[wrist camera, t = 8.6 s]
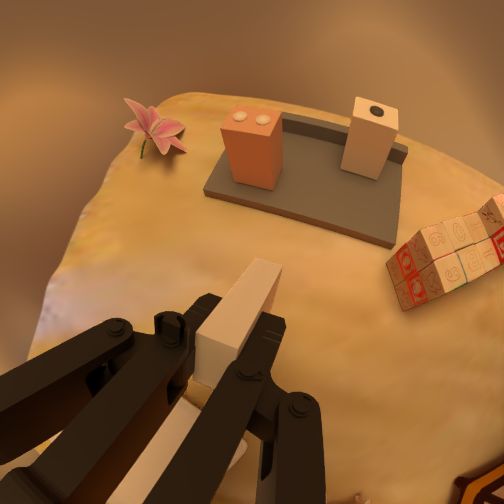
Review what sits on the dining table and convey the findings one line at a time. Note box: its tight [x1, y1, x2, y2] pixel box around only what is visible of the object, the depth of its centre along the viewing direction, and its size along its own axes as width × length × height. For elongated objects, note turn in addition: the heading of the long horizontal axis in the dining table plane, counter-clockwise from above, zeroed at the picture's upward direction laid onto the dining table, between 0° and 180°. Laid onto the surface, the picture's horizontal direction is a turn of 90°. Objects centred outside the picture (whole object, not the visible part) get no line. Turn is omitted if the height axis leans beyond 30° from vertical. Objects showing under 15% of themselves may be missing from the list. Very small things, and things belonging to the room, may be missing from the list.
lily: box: [124, 98, 187, 158], centre depth 36 cm, size 12×12×10 cm
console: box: [203, 112, 408, 249], centre depth 32 cm, size 24×14×4 cm, turn 70°
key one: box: [340, 97, 398, 180], centre depth 28 cm, size 5×4×9 cm
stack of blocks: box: [386, 193, 504, 311], centre depth 22 cm, size 21×6×12 cm, turn 103°
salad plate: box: [49, 321, 248, 504], centre depth 22 cm, size 21×21×3 cm
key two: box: [220, 105, 283, 191], centre depth 28 cm, size 5×4×9 cm
